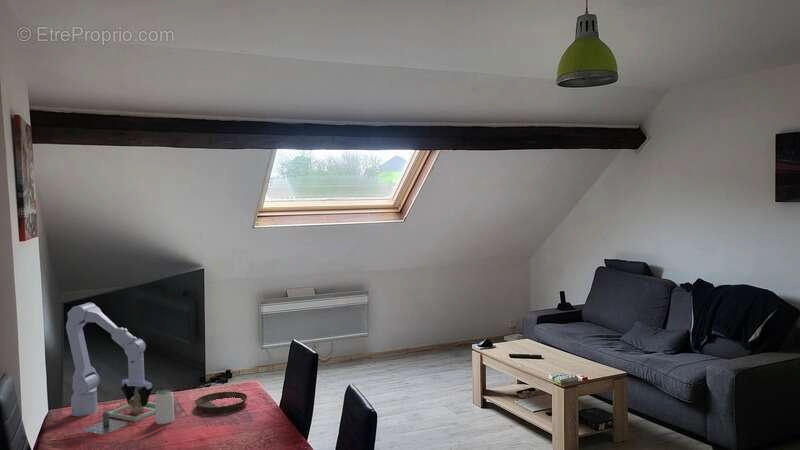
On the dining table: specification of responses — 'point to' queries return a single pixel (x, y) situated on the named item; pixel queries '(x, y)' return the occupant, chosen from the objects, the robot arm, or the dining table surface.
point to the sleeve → (136, 405)
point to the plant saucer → (205, 400)
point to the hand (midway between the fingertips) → (137, 404)
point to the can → (164, 406)
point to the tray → (115, 414)
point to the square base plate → (105, 425)
